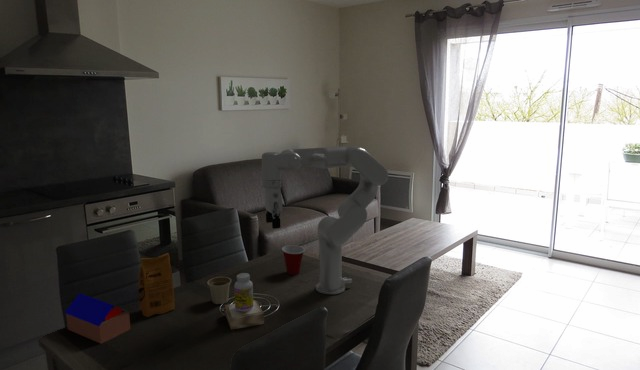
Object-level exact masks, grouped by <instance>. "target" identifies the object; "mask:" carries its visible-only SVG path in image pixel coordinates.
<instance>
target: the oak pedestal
mask: <svg viewBox="0 0 640 370" xmlns="http://www.w3.org/2000/svg"><path fill="white" fill-rule="evenodd" d="M224 307H225V308H224V310H225V317H226V318H225V319H226V320H227V323H228V326H229V327H230V328H229V329H230V330H236V329H242V328H249V327H254V326H259V325H264V324H265V312H264V311H263V309H262V307H261V305H260V304H259V302H258V301H257V300H255V299H253V308H252V309H251V310H249V311H246V312H240V311H237V310H236V309H235V303H229V304H225V305H224Z"/></svg>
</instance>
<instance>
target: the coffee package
mask: <svg viewBox="0 0 640 370" xmlns="http://www.w3.org/2000/svg"><path fill="white" fill-rule="evenodd" d="M170 258H171V257H170V254H169V253H168V252H167V253H163V254H162V255H158V256H157V257H144V258H143V257H140V269H139V277H138V291H137V293H138V294H137V295H138V305H139V308H140V310H141V314H142V315H143V316H144V317H146V318H149V317H152V316H155V315H164V314H166V313H168V312H170V311H173V310H175V308H176V307H175V305H176V304H175V293H174V280H173V279H174V277H173V270H172V266H171V259H170Z"/></svg>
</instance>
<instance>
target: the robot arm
mask: <svg viewBox="0 0 640 370" xmlns="http://www.w3.org/2000/svg"><path fill="white" fill-rule="evenodd" d="M300 167H313V168H317V169H333V168H334V169H335V168H347V167H349V168H350V167H352V168H354V169H355V170H356V171H357V172H358V173H359V177H360V178H359V179H360V180H359V184H358V186H356V187H357V188H356V189H354V191H353V192H352V193H350V195H349V196H348V197H347V198H345V199H344V200H343V201H342V202H341V203H340V204H339V206H338V207H337V215H338V218H336V217H334V216H329V215H328V216H324V217H323V218H322V219H320V221H318V224H317V236H318V255H319V256H318V258H319V259H318V261H319V262H318V263H319V264H318V265H319V267H318V268H319V271H318V273H319V277H318V278H319V279H318V281H319V282H318V283H316V285H315V291H316V292H318V293H320V294H323V295H337V294H341V293H343V292H345V290H346V284H351V283H353V279H352V278H348V277H343V276H342V272H343V271H342V265H343V263H342V262H343V260H342V254H343V251H342V250H343V249H342V247H343V246H342V245H344V244H345V243H346V242H347V241H348V240H349V239H351V238H352V237H353V236H354V235H355V233H357V232H358V231H359V230H360V229H361V228H362V227H363V226H364V224H365V223H366V221H367V219H368V211H367V208H368V206H369V205H371V203H372V202H373V201H374V199H375V198H376V196H377V193H378V189H379V186H383V185H385V184H386V183H387V181H388V179H389V171H388V169H387V168H386V167H385V166H384V165H383V164H382V163H381V162H380V161H378V159H376V158H375V157H374V156H373V155H372V154H371V153H369V152H368V151H367V150H366V149H365V148H363V147H360V146H355V145H344V146H343V145H341V146H329V147H326V146H325V147H313V148H312V147H310V148H308V147H307V148H293V149H285V150H282V151H281V152H276V151H267V152H263V153H262V155H261V176H262V177H261V178H262V179H261V180H262V188H263V189H264V207H265V222H266V223H267V224H269V223H271V224H272V225H271V227H272V229H273V230H275V229H281V213H283V201H282V199H283V198H282V191H281V188H282V171H286V172H287V171H288V172H294V171H297V170H298V169H300Z"/></svg>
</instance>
